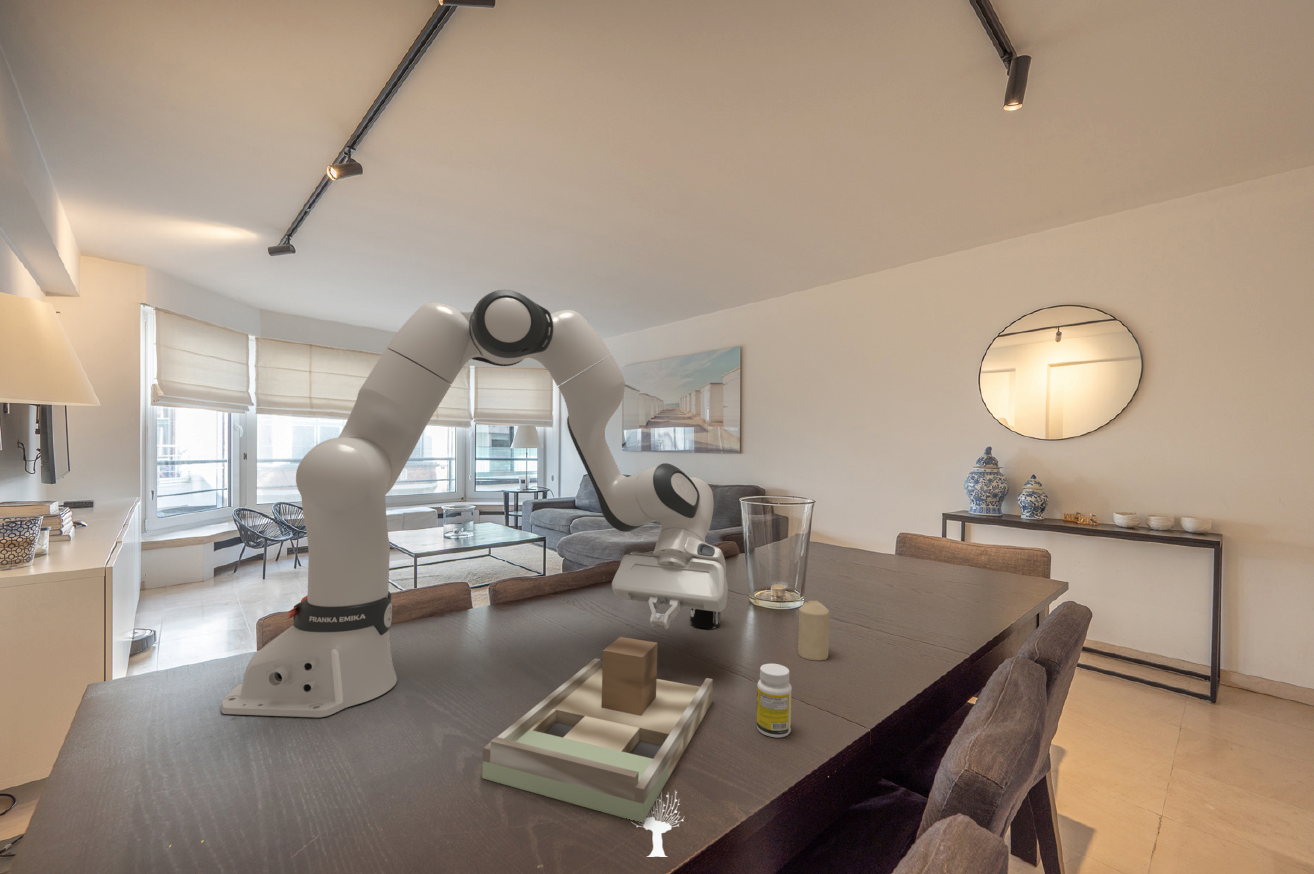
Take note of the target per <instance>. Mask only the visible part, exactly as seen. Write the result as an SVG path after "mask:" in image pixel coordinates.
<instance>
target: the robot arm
mask: <svg viewBox="0 0 1314 874" xmlns="http://www.w3.org/2000/svg"><path fill="white" fill-rule="evenodd" d="M528 358H529V359H533V360H535V361H537V362H539V363H540V364H541V365H542V366H543V367H544V368H545V369H546V371H548V372H549V374H550V376H551V378H552V379H553V381H554V383H555V384H556V386H557V388H558V390H559V391H560V393H561V395H562V397H563V400H564V402H565V405H566V410H567V418H566V424H567V430H568V432H569V433H568V434H569V435H570V437H571V440H572V443H573V445H574V447H575V449H576V452H577V454H578V456H579V458H580V461H581V463H582V464H583V466H584V469H585V471H586V474H587V475H588V478H589V480H590V482H591V484H592V487H593V489H594V491H595V494H596V496H597V499H598V504H599V507H600V508H599V509H600V510H601V513H602V516H603V518H604V519H605V521H606V522H607V524H609V525H610V526H611V527H612V528H614V529H616V530H617V531H619V532H622V533H628V532H632V531H634V530H636V529H638V528H641V527H643V526H645V525H647V524H650V523H655V522H657V523H659V524H660V526H661V529H660V531H659V534H658V537H657V540H656V543H655V548H654V551H653V552H649V551H638V550H632V551H631V552H628V553H627V554H624V555H623V556H622V558H621V561H620V563H619V567H618V569H617V571H616V573H615V574H614V577H613V579H612V581H611V589H612V591H613V593H614V595H615V597H616V598H617V599H619V600H626V601H632V602H640V603H642V602H643V603H647V604H648V605H649V608H650V612H651V615H650V619H649V625H650V627H653V628H662V629H666V630H668V629H669V627H670V623H671V621H672V620H673V619H674V618H675V617H676V616H677V615H678V614H679V613H680V611H681V608H687V609H691V608H693V609H700V610H708V611H716V612H721V613H722V611H723V610H724V609H725V608H726V607H727V602H728V601H727V600H728V589H729V588H728V587H729V586H728V580H727V577H726V574H727V564H726V563H727V562H726V560H725V556H724V554H723V551H722V550H721V549H720V547H717V546H714V545H711V544H709V543H707V542H706V537H707V534H709V531H710V528H711V524H712V519H713V514H714V503H715V501H714V492H713V490H712V488H711V487H710V485H709V484H708V483H707V482H706V481H705V480H702V479H701V478H698V477H695V476H688V475H687V474H686V473H685V472H684V471H682V470H681V469H680V468H679V467H677V466H675V465H673V464H670V463H667V462H666V463H660V464H657V465H655V466H652V467H649V468H645V469H643V470H642V471H640V472H637V473H635V474H633V475H632V474H631V475H630V476H626V475H624V474H622V473H621V471H620V470H619V467H618V465H617V462H616V460H615V458H614V456H613V454H612V451H611V450H610V447H609V444H608V443H607V440H606V433H605V432H606V427H607V425H608V423H609V421H610V420H611V418H612V416H613V415H614V414H615V413H616V411H617V410H618V408H619V406H620V405H621V403H622V401H623V398H624V395H625V388H626V387H625V386H626V385H625V384H626V383H625V379H624V376H623V372H622V371H621V368H620V367H619V365H618V363H617V361H616V359H615V358H614V356H613V355H612V354H611V352H610V350H609V348H608V347H607V345H606V344H605V343H604V341H603V339H602V338H601V337H600V335H599V334H598V333H597V331H596V330H595V329H594V327H593V326H592V325H591V324H590V323H589V321H587V319H586V318H585V317H584V316H583V315H582V314H581V313H580V312H578V311H576V310H573V309H561V310H557V311H554V312H553V313H551V312H550V311H549V310H548V309H546V308H545V307H543V306H542V305H539V304H538V303H536V302H534V301H533V300H532V299H530V298H529V297H527V296H526V295H524V294H522V293H521V292H519V291H518V292H517V291H515V290H510V289H498V290H495V291H491V292H490V293H488V294H486V295H484V296H483V297H482V298H480V300H479V301H478V302H477V303H476V304H475V306H474V308H473V310H472V311H467V312H466V311H461V310H459V309H457V308H456V307H454V306H451V305H449V304H447V303H443V302H439V301H438V302H435V301H431V302H428V303H425V304H423V305H422V306H420V307H419V308H418V309H417V310H416V311H415V312H414V313H413V314H412V315H411V316H410V318H408V320H406V322H405V323H404V324H403V325H402V326H401V327H400V329H399V330H398V332H397V333H396V334H395V335H394V337H393V338H392V340H391V341H390V342H389V344H388V346H387V348H385V350H384V351H383V353H382V354H381V356H380V357H379V359H378V360H377V362H376V364H375V365H374V367H373V368H372V370H371V372H370V373H369V374H368V376H367V378H366V379H365V381H364V382H363V384H362V386H361V387H360V389H359V390H358V393H357V396H356V400H355V402H354V405H353V408H352V410H351V411H350V414H349V416H348V419H347V420H346V423H345V424H344V427H343V429H342V430H341V433H340V434H339V436H338V437H334V438H329V439H327V440H324V441H321V442H319V443H318V444H316V445H315V446H313V448H311V449H310V450H309V451H308V452H307V453H306V454H305V456H304V457H303V458H302V459H301V461H300V462H299V464H298V466H297V469H296V473H295V484H296V487H297V490H298V492H299V495H300V497H301V507H302V514H303V515H302V516H303V520H304V527H305V533H306V539H307V547H308V548H307V549H308V563H307V567H308V569H307V572H308V573H307V595H306V596H304V597H302V598H301V600H300V602H298V603H297V604H295V605H294V606H293V608H292V609H290V610H289V611H288V613H289V614H288V616H287V617H288V619H289V620H290V619H292V618H293V619H292V621H293V623H292V625H291V626H290V627H289V628H287V629H286V630H284V631H283V632H282V633H280V634H279V635H277V636H276V637H275V638H274V639H272V640H271V641H269V642H268V643H267V644H266V645H264V646H263V647H261V648H260V650H258V651H257V652H256V653H255V654H254V655H253V656H252V657H251V659H250V660H249V662H248V664H247V666H246V668H245V671H244V672H245V673H244V675H243V679H242V682H241V683H239V684H238V685H237V686H235V687H234V688H233V689H231V690H230V691H229V692H228V693H227V694H226V696H225V697H224V698H223V700H222V703H221V707H220V709H221V711H220V712H221V713H222V714H225V715H239V716H240V715H242V716H243V715H245V716H246V715H247V716H267V717H268V716H269V717H270V716H273V717H295V718H296V717H299V718H324V717H328V716H331V715H333V714H336V713H338V712H340V711H342V710H344V709H347V708H348V707H352V706H356V705H359V704H364V703H367V702H368V701H372V700H373V699H376V698H378V697H380V696H382V695H384V694H386V693H388V692H389V691H390V690H392V688H394V687H395V685H396V684H397V682H398V676H397V673H396V671H395V668H394V663H393V659H392V657H393V656H392V652H391V651H392V649H391V643H390V631H389V630H391V629H390V628H391V625H392V618H393V617H392V616H393V615H392V614H393V604H392V594H391V592H390V591H389V589H390V588H389V585H390V583H389V582H390V554H391V552H390V549H391V544H390V540H389V532H388V521H387V507H386V503H387V502H386V495H387V494H388V493H389V492H390V491H391V490H392V489H393V487H394V486H395V484H396V482H397V480H398V478H399V477H400V475H401V474H402V472H403V470H404V468H405V466H406V464H407V462H408V461H409V459H410V457H411V455H412V453H413V452H414V450H415V448H416V446H417V444H418V442H419V440H420V439H421V437H422V434H423V433H424V431H425V429H426V427H427V425H428V423H429V422H430V420H431V418H432V417H433V416H434V414H435V412H436V411H437V409H438V407H439V406H440V405H441V404H442V403H441V402H442V401H443V399H444V398H445V396H446V395H447V393H448V391H449V389H450V388H451V386H452V385H453V383H454V381H455V380H456V378H457V377H458V374H459V373H460V371H461V370H462V369H463V368H464V366H465V365H466V364H467V363H468V362H469V361H470V360H473V361H478V362H483V363H485V364H489V365H493V366H499V367H511V366H514V365H517V364H519V363H521V362H522V361H523V360H525V359H528ZM661 605H664V606H669V608H668V609H667V610H666V612H665V613H660V612H659V613H658V612H657V610H659V609H660V607H661Z"/></svg>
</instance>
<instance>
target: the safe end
mask: <svg viewBox="0 0 1314 874" xmlns="http://www.w3.org/2000/svg"><path fill="white" fill-rule="evenodd" d="M515 742H519V743H523V744H527V745H531V746H535V747H539V748H543V749H547V750H551V751H555V752H559V753H564V754H568V755H572V756H576V757H580V758H584V759H588V760H592V761H596V762H600V763H604V764H608V765H612V766H616V767H620V768H624V769H628V770H632V771H636V772H639V777H638V781H639V780H640V778H641V777H642V775H643V774H644V772H645V771H646V769H647V768H648V766H649V765H650V763H651V762H652V760H653V759H651V758H647V757H643V756H639V755H634V754H630V753H626V752H622V751H617V750H613V749H609V748H605V747H600V746H596V745H592V744H588V743H583V742H579V741H575V740H571V739H566V738H562V737H558V736H554V735H550V734H545V733H541V732H537V731H533V730H528V731H527V732H526V733H524V734H523V735H522V736H521V737H520V738H519V739H517V740H516V741H515ZM481 773H482V777H481V778H482V779H484V780H487V781H490V782H495V783H497V784H502V785H505V786H508V787H512V788H516V789H520V790H523V791H527V792H530V793H533V794H537V795H540V796H544V797H547V798H551V799H554V800H555V799H556V800H557V801H561V802H566V803H570V804H573V805H577V806H580V807H583V808H587V809H590V810H594V811H597V812H598V811H599V812H600V813H601V812H602V813H605V814H608V815H612V816H615V817H620V818H622V819H626V818H627V820H629V819H630V820H629V821H633V820H635V821H634V822H637V821H640V822H643V821H644V822H645V820H646V819H647V816H648V815H649V813H650V811H651V810H652V808H653V806H654V805H655V802H656V801H657V800H658V797H659V795H660V794H661V792H662V791H663V788H664V787H665V785H666V783H667V782H668V780H669V778H668V764H667V765H666V767H665V769H664V770H663V772H662V774H661V775H660V777H659V779H658V780H657V782H656V784H655V785H654V787H653V789H652V790H651V792H650V794H649V795H648V797H647V799H646V800H645V802H644V804H642V803H638V802H635V801H631V800H627V799H623V798H620V797H616V796H612V795H608V794H605V793H601V792H597V791H593V790H590V789H586V788H582V787H578V786H575V785H571V784H567V783H563V782H560V781H556V780H552V779H548V778H545V777H541V776H537V775H534V774H530V773H526V772H522V771H519V770H515V769H511V768H507V767H504V766H500V765H496V764H492V763H489V762H485V761H483V760H482V772H481ZM645 818H646V819H645ZM644 819H645V820H644ZM640 822H639V823H640ZM644 822H643V823H644Z"/></svg>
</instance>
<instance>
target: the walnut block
mask: <svg viewBox="0 0 1314 874" xmlns="http://www.w3.org/2000/svg"><path fill="white" fill-rule="evenodd" d="M601 667H602V668H601V669H602V703H601V708H606V709H610V710H615V711H620V712H625V713H630V714H634V715H639V716H641V715H642V714H643V713H644V712H645V710H646V709H647V708H648V707H649V705H650V704H651V703H652V702H653V700H654V699H655V698H656V681H657V679H658V678H657V677H658V671H657V670H658V642H656V641H650V640H643V639H636V638H629V637H624V636H619V637H618V638H617V639H615V640H614V641H613V642H612V643H611V644H609V645H608V646H606V648H604V649H603V650H602V666H601Z"/></svg>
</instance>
